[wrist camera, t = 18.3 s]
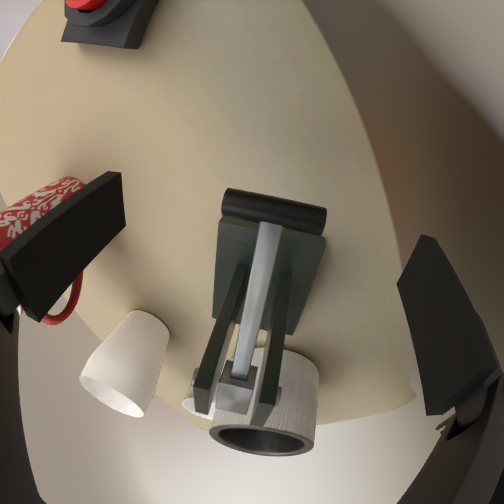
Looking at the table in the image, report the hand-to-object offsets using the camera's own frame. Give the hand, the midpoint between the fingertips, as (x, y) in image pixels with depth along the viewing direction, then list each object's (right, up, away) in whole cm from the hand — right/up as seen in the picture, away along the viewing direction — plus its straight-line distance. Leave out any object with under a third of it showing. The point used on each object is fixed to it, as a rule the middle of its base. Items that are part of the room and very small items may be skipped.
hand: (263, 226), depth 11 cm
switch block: (-11, +21, +2) cm, 24 cm away
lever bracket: (+1, -4, +16) cm, 16 cm away
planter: (+3, -17, +25) cm, 30 cm away
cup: (-15, -11, +25) cm, 31 cm away
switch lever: (0, -5, +6) cm, 7 cm away
